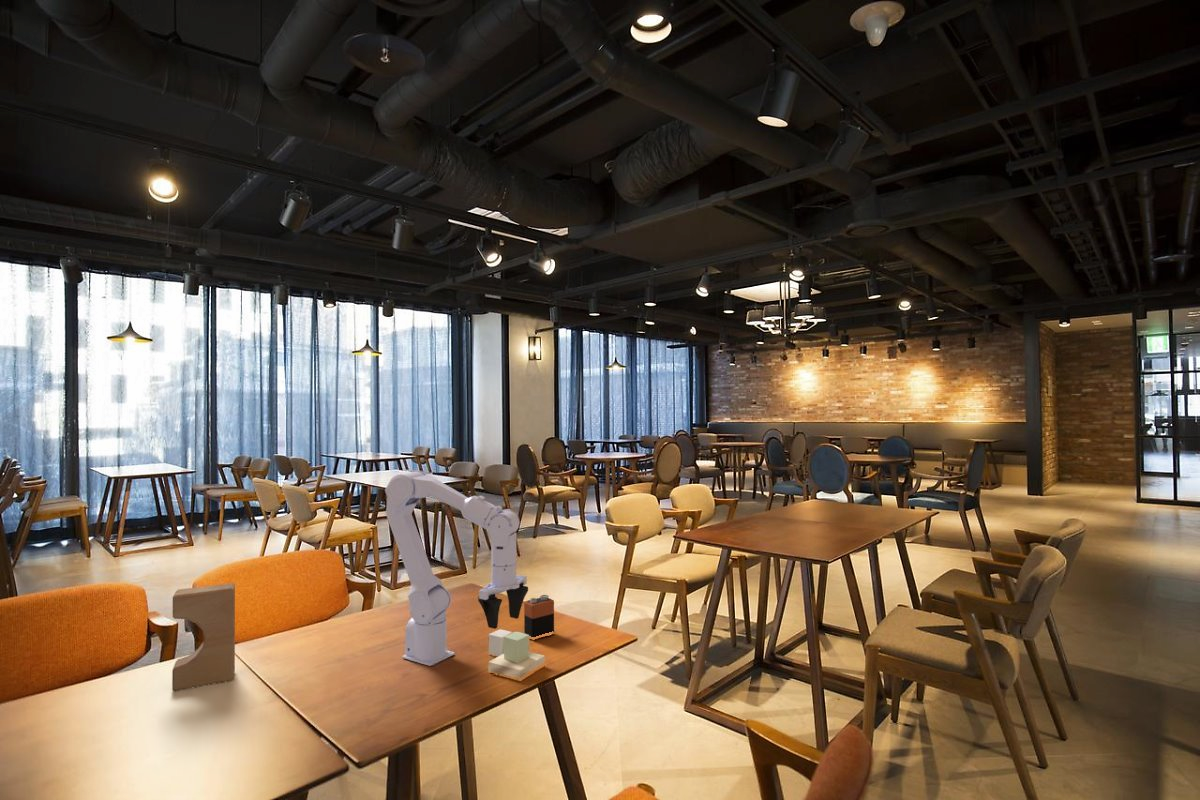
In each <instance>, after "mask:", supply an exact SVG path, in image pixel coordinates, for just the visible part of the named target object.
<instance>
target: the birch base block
mask: <svg viewBox="0 0 1200 800" xmlns="http://www.w3.org/2000/svg"><path fill="white" fill-rule="evenodd" d="M544 662H545V663H546V655H544V654H539V653H535V652H531V651H529V657H528V658H526V659H525V660H523V661H521V662H519V663H515V662H512V661H509V660H505V659H504V654H502V655H500V656H498V657H494V658H493V659H491V660H489V661H488V668H487V669H488V671H489V672H494V673H498V674H502V675H507V676H511V677H517V678H521V677H523V676H524V675H526V674H527V673H529V672H530V671H532V670H533V669H535V668H537V667H538V666H540V665H541V664H543V663H544Z"/></svg>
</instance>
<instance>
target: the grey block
mask: <svg viewBox="0 0 1200 800" xmlns="http://www.w3.org/2000/svg"><path fill="white" fill-rule="evenodd" d="M511 633H513V632H512V631H509V630H506V629H501V628H499V629H498V630H495V631H492V632H491V633H488V655H489V654H492V655H496V656H500V655H502V654H504V637H505V636H507V635H509V634H511Z"/></svg>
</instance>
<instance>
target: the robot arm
mask: <svg viewBox="0 0 1200 800" xmlns="http://www.w3.org/2000/svg"><path fill="white" fill-rule="evenodd" d="M384 491H385V493H386V496H387V497H386V508H385V515H386V518H387V520H388V523H389V526H390V529H391V532H392V535H393V538H394V541H395V543H396V546H397V549H398V551H399V555H400V557H401V560H402V563H403V565H404V568H405V571H406V574H407V577H408V580H409V582H410V587H409V590H408V594H407V595H408V597H407V598H408V600H409V615H410V617H411V618H410V619H409V620H408V622H407V623H406V626H405V630H404V631H405V632H404V642H405V643H404V644H405V645H404V646H405V648H404V652H405V653H404V654H403V655H401V656H402V658H403V659H406V660H408V661H412V662H415V663H419V664H422V665H425V666H430V667H431V666H434V665H436V664H438V663H440V662H441V661H442V662H443V661H444V660H446V659H448V658H450V657H451V656H454V655H455V651H451V650H449V649H447V610H448V608H449V607H450V605H451V602H452V599H451V593H450V592H449V590H448V589H447V588H446V587H445V586H444V584H443V582H442V579H440V578H439V577H438V576H436V575H435V574H434V572H433V569H432V566H431V564H430V560H429V559H428V556H427V553H426V550H425V546H424V544H423V542H422V538H421V536H420V534H419V532H418V529H417V526H416V525H417V524H416V523H415V520H414V517H413V514H412V513H413V511H414V509H415V507H416V506H417V504H418V502H419V501H420V500H421V499H425V498H433V499H435V500H437V501H440V502H441V503H444V504H446V505H449V506H451V507H453V508H455V509H457V510H459V511H460V513H461V515H462V517H463V518H464V519H465V520H467V521H469V522H470V523H473V524H475V525H477V526H479V527H481V528H483V529H485V530H487V532H488V534H489V536H490V537H491V547H490V548H491V556H490V557H491V567H490V568H491V569H490V571H491V573H490V575H491V578H490V581H491V582H489V583H488V584H486V585H485V586H484V587H483V588H481V589H479V591H478V596H477V601H478V602H479V604H480V606H481V608H482V611H483V613H484V615H485V618H486V623H487V627H488V628H489V629H494V630H495V629H497V628H498V625H499V612H500V608H501V604H502V602H503V599H502V598H498V597H497V596H496V595H498V594H502V593H503V592H506V594H507V595H506V596H507V600H508V611H509V612H508V613H509V618H512V619H516V620H517V619H519V617H520V613H521V610H522V609H521V608H522V607H523V606H522V605H523V604H524V603H523V602H524V599H525V597H526V595H527V594H528V593H529V592H528V591H529V587H528V585H527V584H528V583H527V581H528V579H527V577H528V576H527V575H524V574H519V575H517V531H518V529H519V527H520V522H521V521H520V517H519V515H518V514H517V513H516V512H515V511H513V510H512V509H510V508H508V509H507V508H506V509H503V507H502V506H501V505H495V504H493V503H491V502H488V501H487V500H485V499H486V497H485V496H484V495H478V496H477V495H472V496H470V497H468V496H466V495H465V494H463V493H461V492H460V491H457V490H456V489H455V488H452V487H451V486H450V485H447V484H445V483H444V482H442V481H440V480H438V479H437V478H436V477H434V476H433V475H432V474H427V473H426V472H424V471H422V470H414V471H412V472H408V473H404V474H403V473H402V474H396V475H394V476H393V477H391V479H390V480H389V482H388V483H387V486H386V487H385V489H384ZM526 585H527V586H526Z"/></svg>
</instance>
